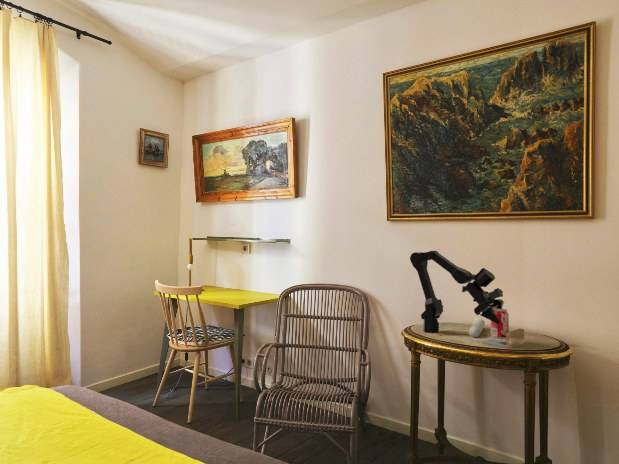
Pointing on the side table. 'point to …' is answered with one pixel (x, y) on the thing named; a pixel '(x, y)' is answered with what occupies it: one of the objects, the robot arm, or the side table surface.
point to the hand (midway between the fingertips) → (502, 322)
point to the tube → (477, 327)
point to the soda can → (500, 324)
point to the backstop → (514, 338)
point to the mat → (495, 342)
